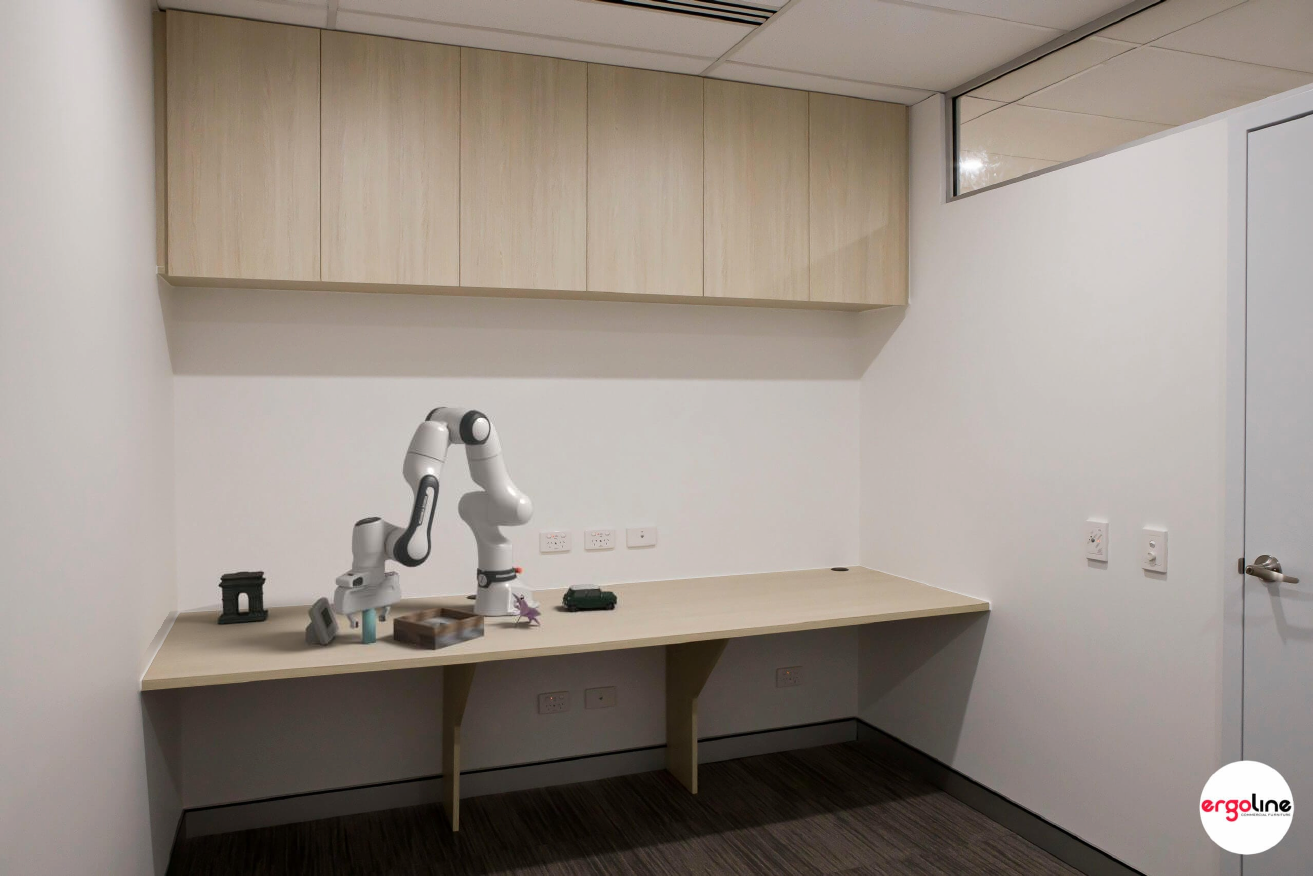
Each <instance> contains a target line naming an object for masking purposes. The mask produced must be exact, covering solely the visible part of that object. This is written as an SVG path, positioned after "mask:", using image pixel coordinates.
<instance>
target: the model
mask: <svg viewBox="0 0 1313 876" xmlns="http://www.w3.org/2000/svg"><path fill="white" fill-rule="evenodd" d="M264 575H265V572H264V571H262V570H259V571H258V570H257V571H237V572H231V573H230V572H229V573H224V574H223V575H221V577H220V579H219V580H221V582H220V583H219V584H218V587H219V588H221V602H222V614H220V616H219V617H218V618H217V624H218V625H220V624H223V625H224V624H232V623H243V622H255V621H266V620H267V619H268V616H269V610H268V609H264V590H263V589H264V588H263V586H264V584H265V583H266V581H267V578H266V577H264ZM240 594H246V596H247V602H248V603H247V604H248V606H247V607H248V608H247V609H248V611H240V609H239V608H240V605H239V604H240V603H239V599H240V598H239V597H240Z"/></svg>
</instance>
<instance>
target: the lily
mask: <svg viewBox="0 0 1313 876" xmlns="http://www.w3.org/2000/svg"><path fill="white" fill-rule="evenodd" d="M512 594H513V593H512ZM513 596H514V597H515V598H516V600H517V602H518V604H519V605H516V606H514V607H515V608H517V609H518V610H520V614H519V617H518V619H517V620H516V623H515V625H514V629H516V628H517V625H518V623H519V621H520V619H521V618H522V617H526V618H527V619H528V621H529V622H533V621H534V622H535V623H537V625H538V626H541V623H540V622H539V620H538V619H537V618H536V617H538V616H542V613H541V612H540V611H539V610H538V609H536V608H532V607H529V606H528V604H527V603H526V601H525V600H524V599H523V600H521V599H520V598H519V597H518V596H516V595H515V594H513ZM519 606H520V608H519Z"/></svg>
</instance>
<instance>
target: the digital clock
mask: <svg viewBox="0 0 1313 876" xmlns="http://www.w3.org/2000/svg"><path fill="white" fill-rule="evenodd" d="M308 615H309V618H310V623H309V624H308V625H307V626H306V627H305V643H306V642H320V644H321V645H324V644H325V645H327V644H329V643H330V642H331V640H332V639H333V637H335V636H336V634H337V633H338V630H339V629H340V625H339V624H338V622H337V619H336V617H335V614H334V612H333V609H332V607H331V604H330V602H329V599H328V597H325V596H322V597H321V598H319V599H317V600H316V602H315V603H314V604H313V605H312V607H311V608H310V609H309V610H308Z"/></svg>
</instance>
